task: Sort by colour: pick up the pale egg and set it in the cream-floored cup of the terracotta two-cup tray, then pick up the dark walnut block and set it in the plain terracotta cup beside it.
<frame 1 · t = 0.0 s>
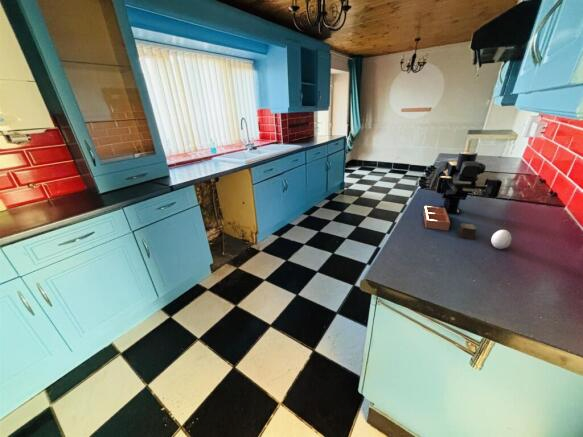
hand: (472, 193, 79), 17 cm above the countertop, tool horizontal, fingers open, 9 cm apart
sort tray: (434, 221, 98), on the countertop
egg: (497, 248, 78), on the countertop
walnut block: (465, 235, 86), on the countertop
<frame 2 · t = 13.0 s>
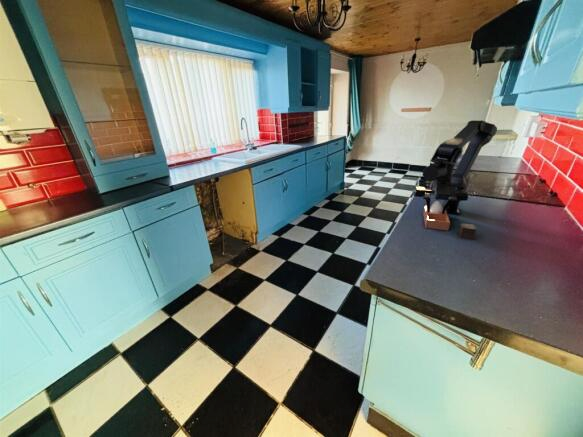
hand: (435, 212, 100), 3 cm above the countertop, tool pointing down, fingers closed on egg, 5 cm apart
egg: (434, 216, 101), point 1 cm above the countertop, touching gripper
everything else where it was.
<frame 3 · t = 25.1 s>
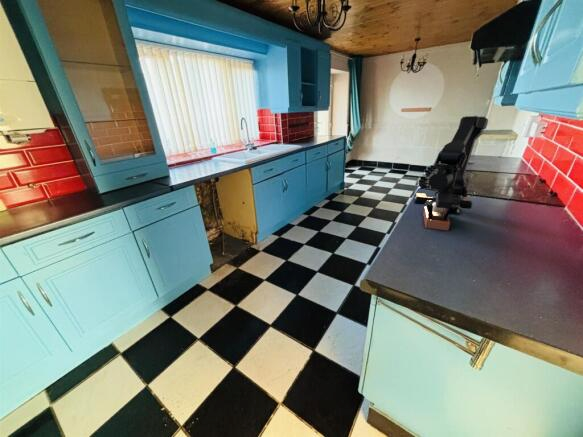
hand: (436, 220, 94), 2 cm above the countertop, tool pointing down, fingers closed on walnut block, 4 cm apart
egg: (434, 216, 101), resting on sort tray
walnut block: (436, 222, 95), point 1 cm above the countertop, touching gripper
when the fingers open (3 cm above the countertop, at t = 32.8 s): walnut block stays where it is, resting on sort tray.
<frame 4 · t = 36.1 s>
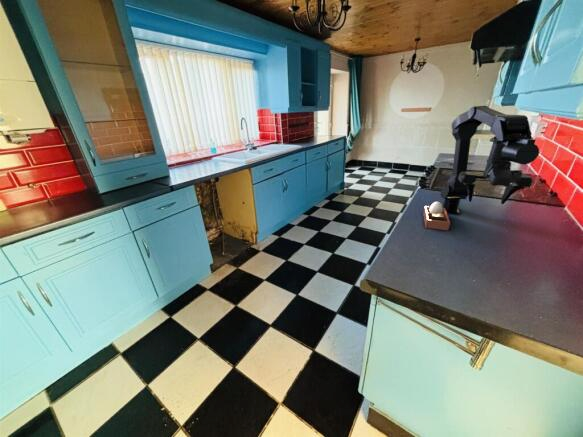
hand: (485, 202, 83), 12 cm above the countertop, tool pointing down, fingers open, 9 cm apart
walnut block: (435, 223, 95), resting on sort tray
everything else where it was.
at the end: egg 0.1 cm from the target spot in the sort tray, point 0.5 cm above the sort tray's base; walnut block 0.1 cm from the target spot in the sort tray, point 0.5 cm above the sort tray's base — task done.
